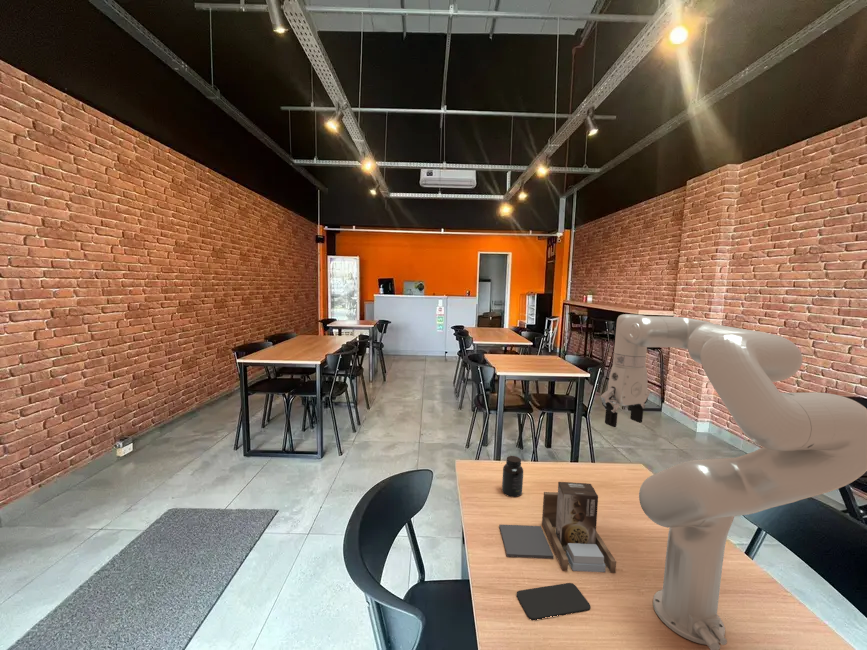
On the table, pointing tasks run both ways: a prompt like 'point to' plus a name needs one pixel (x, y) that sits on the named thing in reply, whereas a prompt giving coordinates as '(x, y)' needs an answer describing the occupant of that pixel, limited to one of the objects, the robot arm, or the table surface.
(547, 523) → the walnut rack
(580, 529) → the coffee box
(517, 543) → the dark grey square plate
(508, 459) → the supplement bottle
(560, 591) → the phone
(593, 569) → the block
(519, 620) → the table surface
